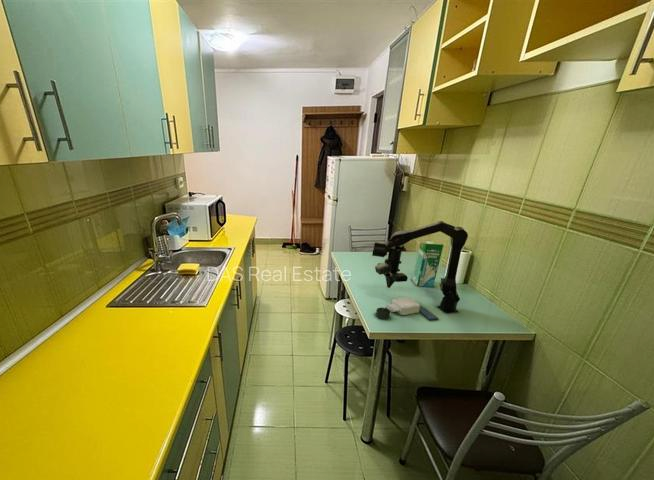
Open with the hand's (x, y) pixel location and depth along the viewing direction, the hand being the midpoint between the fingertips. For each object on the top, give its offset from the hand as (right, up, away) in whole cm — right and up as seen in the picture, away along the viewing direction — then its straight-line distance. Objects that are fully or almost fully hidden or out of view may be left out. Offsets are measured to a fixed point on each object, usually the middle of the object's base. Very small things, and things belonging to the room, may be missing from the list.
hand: (388, 287), depth 153 cm
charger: (+2, -11, -8) cm, 14 cm away
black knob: (-7, -13, -13) cm, 20 cm away
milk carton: (+28, +2, +23) cm, 36 cm away
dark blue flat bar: (+14, -11, -8) cm, 20 cm away
